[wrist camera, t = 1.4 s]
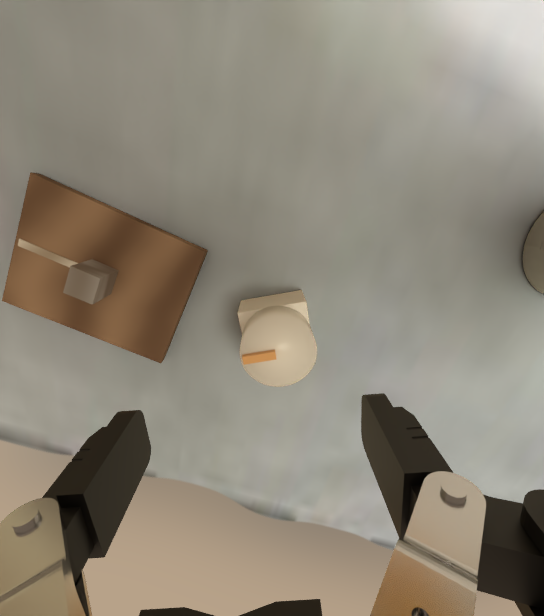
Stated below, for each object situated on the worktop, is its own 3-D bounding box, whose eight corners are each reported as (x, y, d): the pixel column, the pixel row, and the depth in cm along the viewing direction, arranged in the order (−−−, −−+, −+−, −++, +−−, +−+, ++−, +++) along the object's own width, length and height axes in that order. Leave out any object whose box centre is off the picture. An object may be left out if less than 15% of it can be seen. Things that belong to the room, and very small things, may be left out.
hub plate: (207, 250, 27) (197, 257, 23) (164, 358, 30) (149, 380, 26) (39, 173, 25) (-3, 168, 21) (11, 297, 28) (-30, 312, 24)
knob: (302, 288, 28) (312, 311, 22) (311, 346, 30) (322, 382, 23) (239, 299, 28) (231, 325, 22) (251, 356, 30) (247, 395, 24)
